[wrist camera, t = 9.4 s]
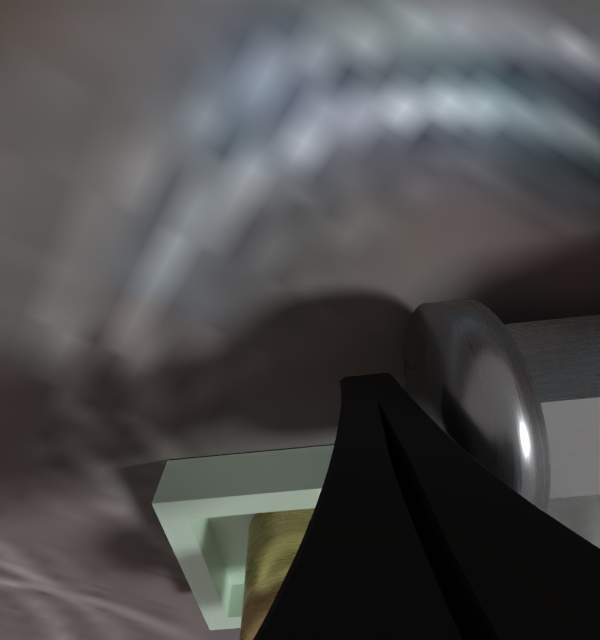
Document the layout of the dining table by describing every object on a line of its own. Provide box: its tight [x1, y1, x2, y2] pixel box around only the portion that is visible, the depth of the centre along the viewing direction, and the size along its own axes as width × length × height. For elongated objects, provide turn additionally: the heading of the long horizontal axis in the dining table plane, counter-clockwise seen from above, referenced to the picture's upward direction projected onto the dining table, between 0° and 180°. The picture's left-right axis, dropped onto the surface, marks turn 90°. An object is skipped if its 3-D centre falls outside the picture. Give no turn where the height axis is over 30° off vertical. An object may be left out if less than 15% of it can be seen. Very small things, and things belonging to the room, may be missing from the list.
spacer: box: [240, 508, 315, 640], centre depth 13 cm, size 4×4×6 cm
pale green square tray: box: [152, 445, 334, 630], centre depth 15 cm, size 9×9×2 cm
